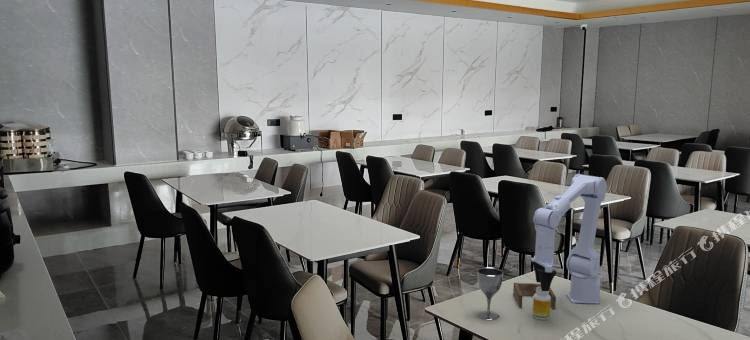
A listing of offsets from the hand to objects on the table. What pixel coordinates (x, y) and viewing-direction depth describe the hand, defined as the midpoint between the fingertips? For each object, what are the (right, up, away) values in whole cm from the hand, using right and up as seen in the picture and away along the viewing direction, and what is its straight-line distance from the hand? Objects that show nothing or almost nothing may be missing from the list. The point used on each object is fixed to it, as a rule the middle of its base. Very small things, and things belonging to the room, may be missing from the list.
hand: (542, 286), depth 187 cm
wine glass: (-17, -10, +3) cm, 20 cm away
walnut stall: (+1, -8, +15) cm, 17 cm away
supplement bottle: (0, -10, +2) cm, 11 cm away
